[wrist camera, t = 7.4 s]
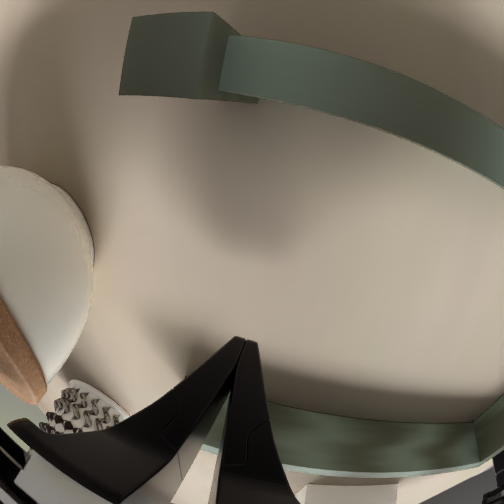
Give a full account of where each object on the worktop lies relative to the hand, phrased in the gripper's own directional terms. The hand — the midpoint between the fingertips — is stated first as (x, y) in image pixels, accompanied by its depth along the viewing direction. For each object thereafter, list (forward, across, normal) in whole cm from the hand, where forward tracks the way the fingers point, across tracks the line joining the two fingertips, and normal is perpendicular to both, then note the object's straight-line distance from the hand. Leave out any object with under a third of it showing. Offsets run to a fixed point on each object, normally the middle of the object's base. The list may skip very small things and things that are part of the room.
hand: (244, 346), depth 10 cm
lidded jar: (+3, +12, 0) cm, 12 cm away
